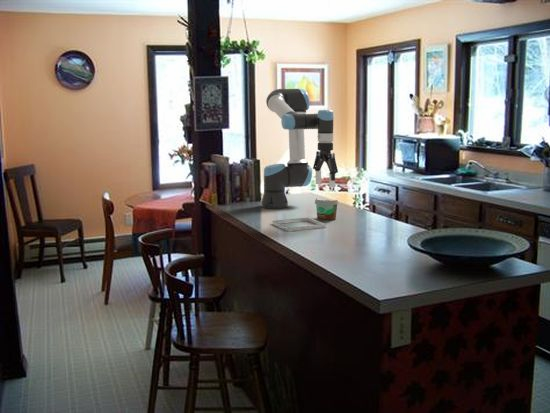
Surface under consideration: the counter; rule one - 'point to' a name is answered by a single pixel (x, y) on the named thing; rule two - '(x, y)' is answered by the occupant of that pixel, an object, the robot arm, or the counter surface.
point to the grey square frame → (319, 225)
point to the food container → (326, 209)
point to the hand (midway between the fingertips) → (325, 185)
